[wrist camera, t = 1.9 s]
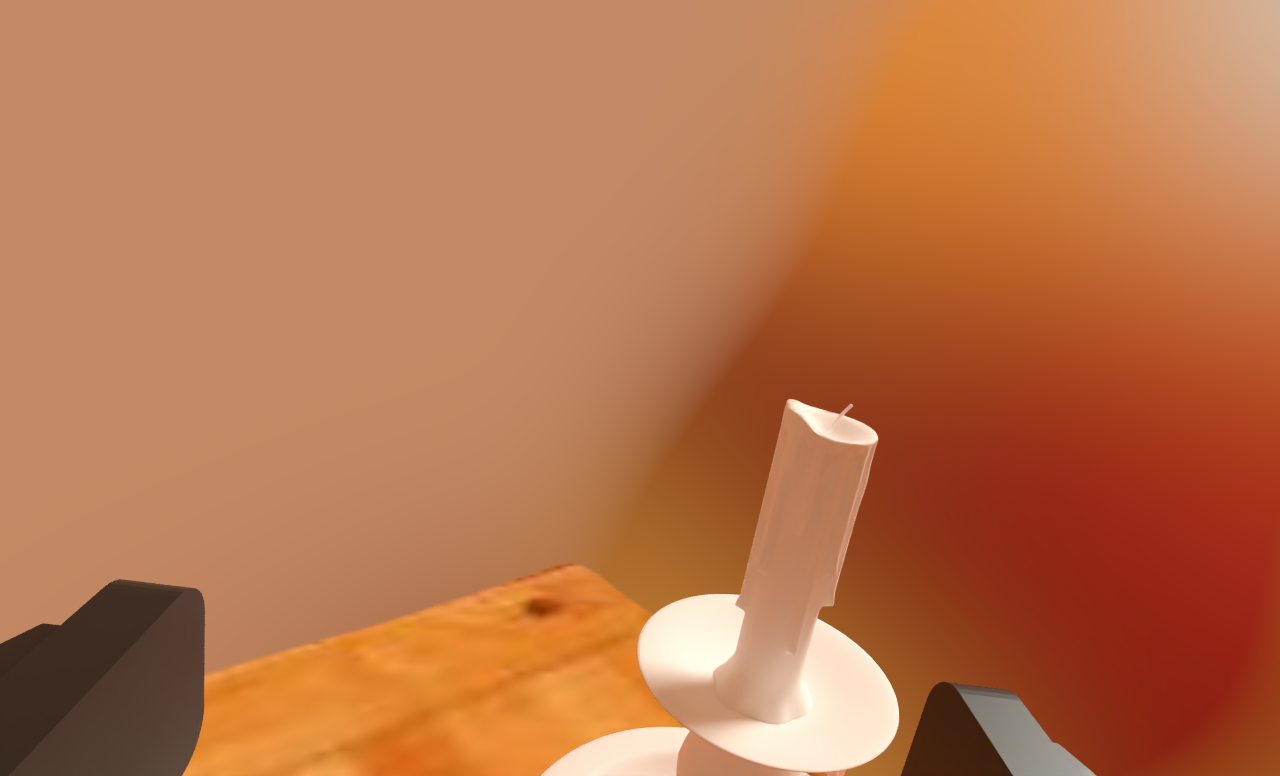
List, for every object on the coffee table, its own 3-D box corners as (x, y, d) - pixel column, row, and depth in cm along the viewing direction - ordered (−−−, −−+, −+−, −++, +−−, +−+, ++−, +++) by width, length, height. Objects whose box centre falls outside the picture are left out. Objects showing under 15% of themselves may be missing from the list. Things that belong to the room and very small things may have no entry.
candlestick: (1008, 917, 42) (1207, 446, 33) (730, 1382, 24) (1007, 626, 16) (720, 697, 55) (811, 320, 47) (404, 892, 37) (461, 341, 29)
